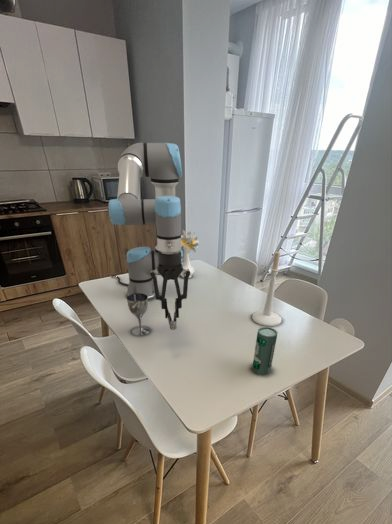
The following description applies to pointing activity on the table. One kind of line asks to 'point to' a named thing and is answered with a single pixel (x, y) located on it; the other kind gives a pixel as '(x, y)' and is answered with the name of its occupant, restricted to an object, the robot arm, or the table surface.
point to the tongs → (171, 323)
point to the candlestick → (269, 300)
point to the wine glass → (138, 310)
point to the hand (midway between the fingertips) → (171, 316)
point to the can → (264, 350)
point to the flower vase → (188, 250)
